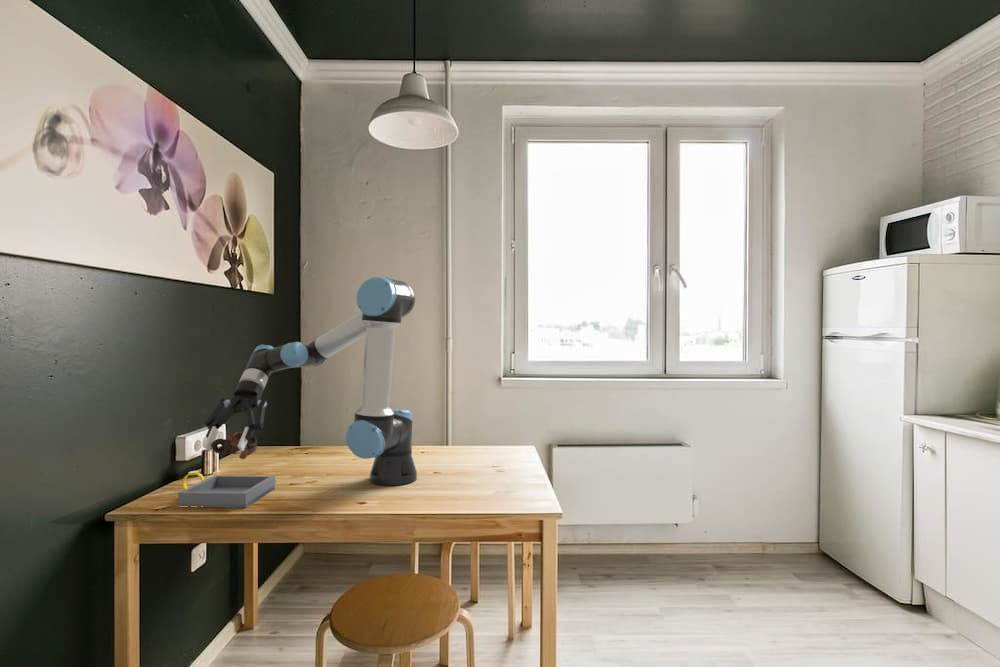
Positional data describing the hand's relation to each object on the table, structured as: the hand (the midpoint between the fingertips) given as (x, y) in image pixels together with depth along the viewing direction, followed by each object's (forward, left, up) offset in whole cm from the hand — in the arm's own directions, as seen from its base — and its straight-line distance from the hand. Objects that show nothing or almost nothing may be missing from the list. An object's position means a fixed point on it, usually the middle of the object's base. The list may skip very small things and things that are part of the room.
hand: (223, 448), depth 152 cm
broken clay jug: (0, -6, -4) cm, 7 cm away
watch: (+14, -9, -15) cm, 22 cm away
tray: (0, -3, -15) cm, 15 cm away
